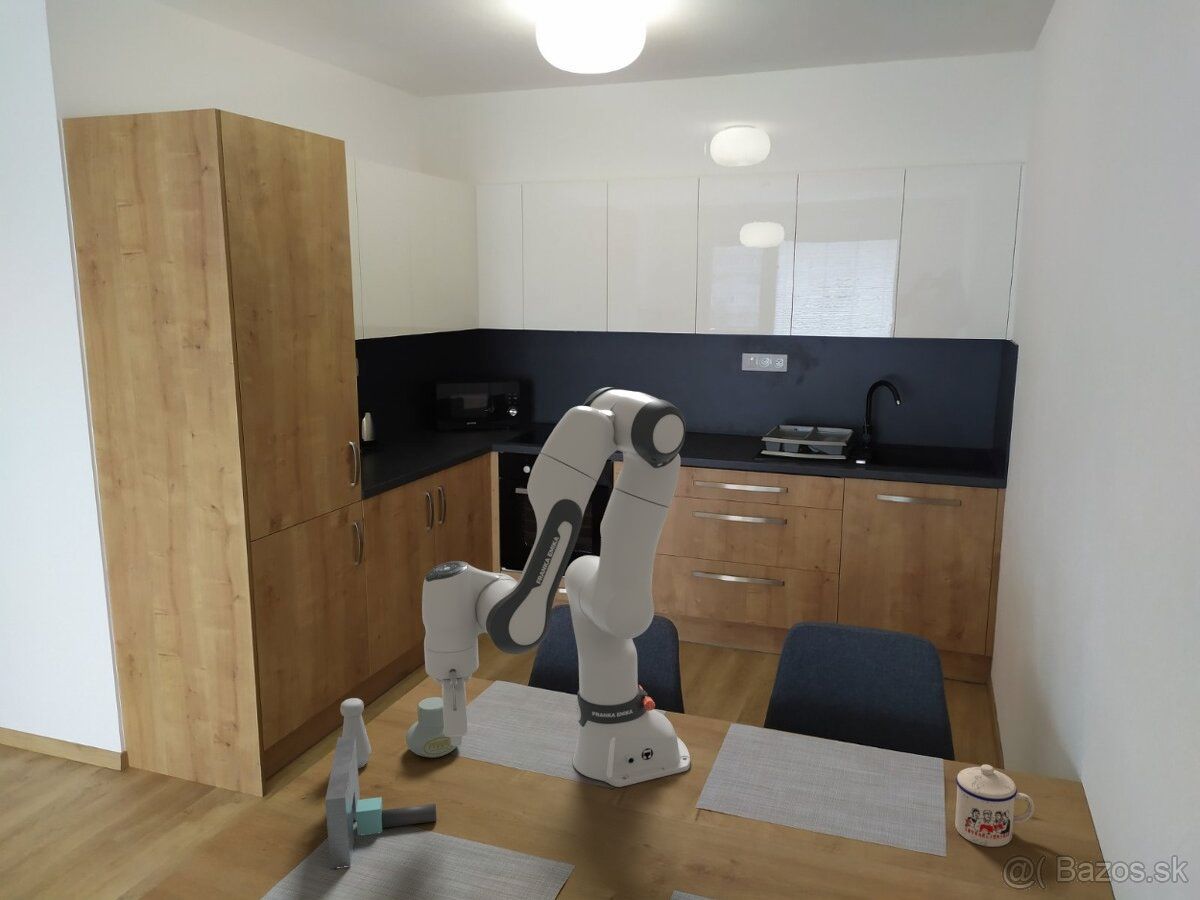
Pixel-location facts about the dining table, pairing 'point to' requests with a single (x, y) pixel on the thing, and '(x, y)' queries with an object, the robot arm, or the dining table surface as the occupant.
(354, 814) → the block
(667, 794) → the dining table surface
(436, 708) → the air freshener
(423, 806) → the plug
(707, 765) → the dining table surface
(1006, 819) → the teacup with lid
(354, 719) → the salt shaker
